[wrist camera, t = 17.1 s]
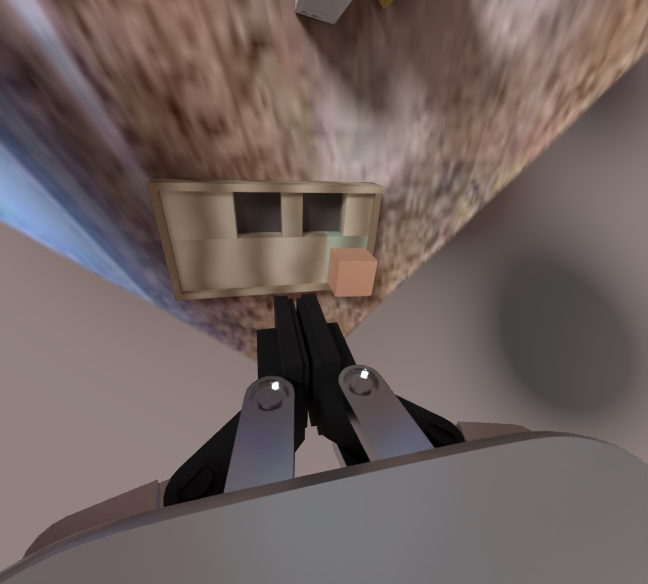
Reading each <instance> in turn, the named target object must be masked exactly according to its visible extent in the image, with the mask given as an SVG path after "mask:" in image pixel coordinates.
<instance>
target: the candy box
mask: <svg viewBox="0 0 648 584" xmlns="http://www.w3.org/2000/svg"><path fill="white" fill-rule="evenodd" d="M392 1H393V0H378V2H379V3H380V5H381V7H382V9H385V8H386V7H387V6H388V5H389V4H390V3H391V2H392Z"/></svg>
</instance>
